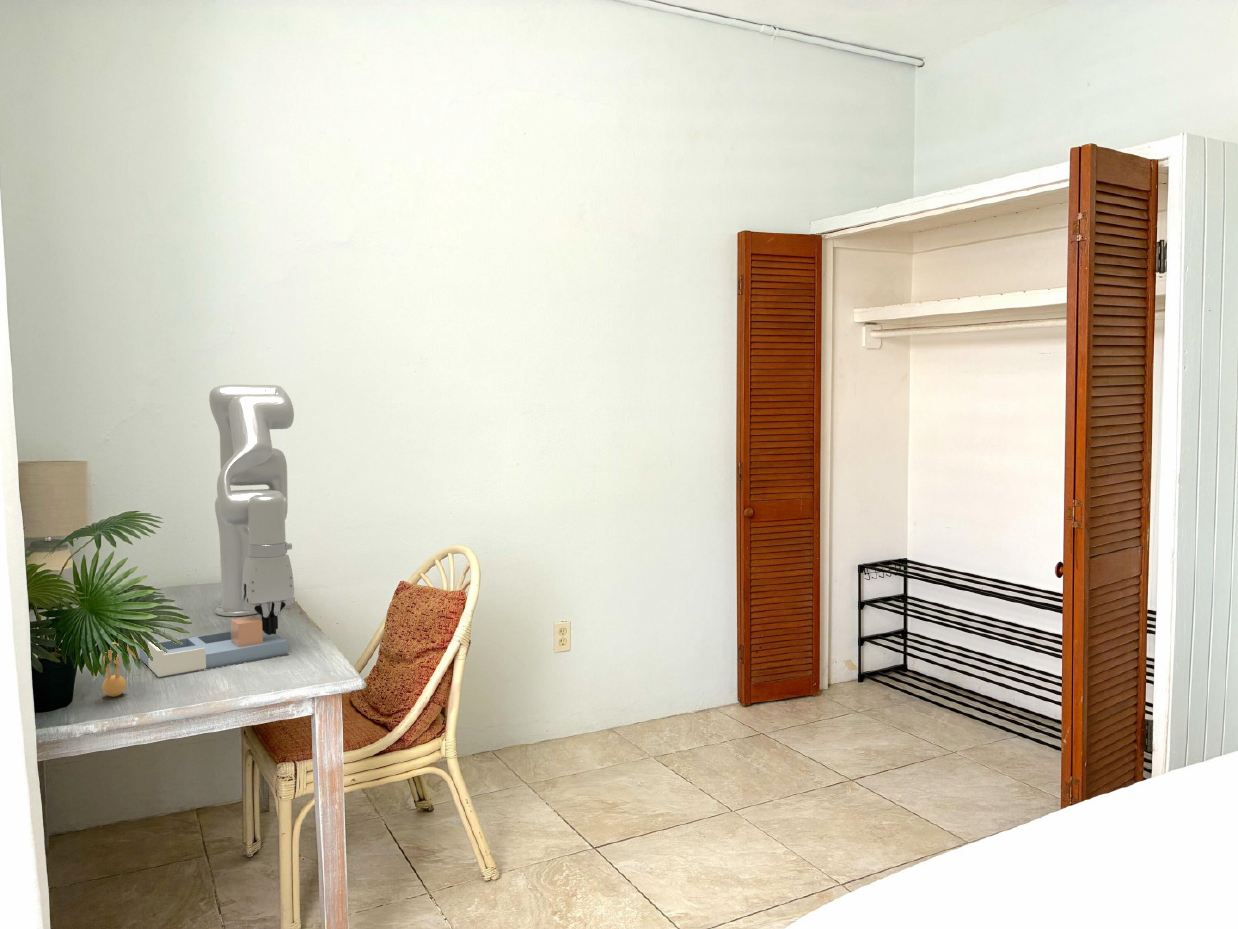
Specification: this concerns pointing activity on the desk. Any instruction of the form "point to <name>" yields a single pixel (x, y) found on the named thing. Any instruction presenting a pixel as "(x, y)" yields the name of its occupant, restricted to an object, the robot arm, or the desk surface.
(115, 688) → the figurine
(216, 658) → the slotted holder block
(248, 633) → the cube
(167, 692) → the desk surface
